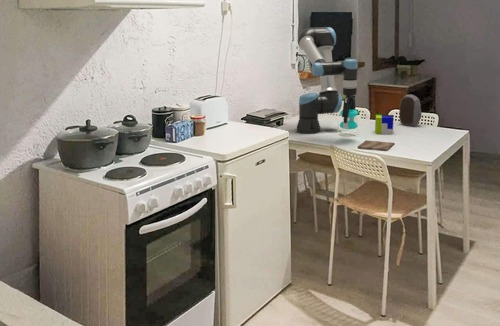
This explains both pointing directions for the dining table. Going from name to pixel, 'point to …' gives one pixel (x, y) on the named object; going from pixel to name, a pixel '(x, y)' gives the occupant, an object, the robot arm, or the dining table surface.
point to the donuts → (350, 123)
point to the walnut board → (376, 145)
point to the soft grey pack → (410, 110)
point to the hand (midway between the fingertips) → (348, 126)
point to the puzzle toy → (384, 124)
